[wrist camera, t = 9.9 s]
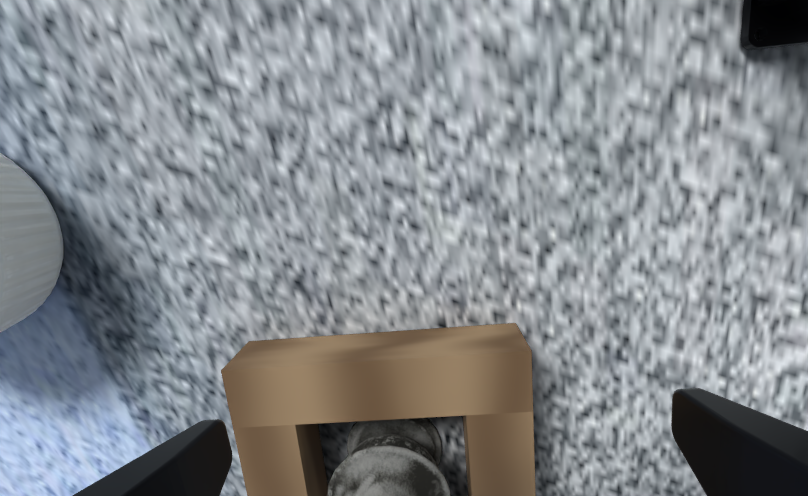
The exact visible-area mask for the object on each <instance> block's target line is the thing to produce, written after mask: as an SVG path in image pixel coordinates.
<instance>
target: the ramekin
mask: <svg viewBox="0 0 808 496" xmlns="http://www.w3.org/2000/svg"><path fill="white" fill-rule="evenodd" d="M63 250H64V249H63V237H62V232H61V228H60V224H59V221H58V218H57V216H56V213H55V211H54V209H53V207H52V205H51V203H50V202H49V200H48V198H47V196H46V195H45V194H44V192H43V191H42V189H41V188H40V187H39V186H38V185H37V183H36V182H35V181H34V180H33V179H32V178H31V177H30V176H29V175H28V174H27V173H26V172H25V171H24V170H23V169H21V168H20V167H19V166H17V165H16V164H15V163H14V162H13V161H12V160H11V159H9V158H7V157H5V156H4V155H3V154H2V153H0V333H1V332H3V331H5V330H6V329H8V328H10V327H11V326H13V325H15V324H16V323H18V322H20V321H22V320H23V319H25V318H26V317H27V316H29V315H31V314H32V313H34V312H35V311H36V310H37V309H38V307H40V306H41V305H42V304H43V303H44V302H45V300H46V299H47V297H48V296H49V295H50V294H51V292H52V290H53V288H54V287H55V285H56V282H57V279H58V277H59V274H60V270H61V267H62V261H63Z"/></svg>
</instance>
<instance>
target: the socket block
mask: <svg viewBox="0 0 808 496" xmlns="http://www.w3.org/2000/svg"><path fill="white" fill-rule="evenodd" d="M221 373H222V378H223V382H224V387H225V392H226V397H227V401H228V406H229V411H230V415H231V420H232V425H233V430H234V434H235V439H236V444H237V448H238V453H239V458H240V462H241V467H242V472H243V477H244V481H245V486H246V491H247V495H248V496H327V493H328V484H327V477H326V471H325V465H324V459H323V452H322V446H321V440H320V434H319V427H318V423H336V422H354V421H372V420H391V419H409V418H427V417H446V416H463V426H464V440H465V455H466V469H467V483H468V496H535V461H534V425H533V389H532V352H531V349H530V347H529V346H528V344H527V342H526V340H525V339H524V337H523V335H522V333H521V332H520V330H519V328H518V326H517V325H516V323H508V324H494V325H479V326H465V327H450V328H436V329H421V330H407V331H392V332H378V333H363V334H349V335H334V336H320V337H305V338H291V339H276V340H262V341H249V342H248V343H247V344H246V345H245V346H244V347H243V348H242V349H241V350H240V351H239V352H238V353H237V354H236V356H235V357H234V358H233V359H232V360H231V361H230V362H229V363H228V364H227V365H226V366H225V367H224V368H223V369H222V370H221Z"/></svg>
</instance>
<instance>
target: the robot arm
mask: <svg viewBox="0 0 808 496" xmlns="http://www.w3.org/2000/svg"><path fill="white" fill-rule="evenodd" d="M756 31H758V32H759V35H760V37H759V40H756V39H755V32H756ZM741 43H742V45H743V47H744V48H746V49H749V50H755V49H764V48H773V47H783V46H792V45H801V44H808V0H744V4H743V17H742V29H741ZM671 426H672V433H673V436H674V439H675V441H676V443H677V445H678V446H679V448H680V450H681V452H682V453H683V455H684V457H685V458H686V460H687V462H688V464H689V465H690V467H691V469H692V471H693V472H694V474H695V476H696V477H697V479H698V481H699V483H700V484H701V486H702V488H703V490H704V491H705V493H706V495H707V496H808V431H806V430H804V429H801V428H798V427H796V426H793V425H791V424H788V423H786V422H783V421H781V420H778V419H776V418H773V417H771V416H768V415H766V414H763V413H761V412H758V411H756V410H753V409H751V408H748V407H746V406H743V405H741V404H738V403H736V402H733V401H731V400H728V399H725V398H723V397H720V396H718V395H715V394H713V393H710V392H708V391H705V390H703V389H700V388H690V389H678V390H676V391H675V392H674V394H673V398H672V425H671ZM231 463H232V450H231V446H230V442H229V438H228V434H227V430H226V426H225V424H224V422H223V421H222V420H219V419H217V420H203V421H200V422H198V423H197V424H195V425H193V426H192V427H190V428H188V429H186V430H185V431H183V432H181V433H180V434H178V435H176V436H174V437H173V438H171V439H169V440H167V441H166V442H164V443H162V444H161V445H159V446H157V447H155V448H154V449H152V450H150V451H149V452H147V453H145V454H143V455H142V456H140V457H138V458H136V459H135V460H133V461H131V462H130V463H128V464H126V465H124V466H123V467H121V468H119V469H118V470H116V471H114V472H112V473H111V474H109V475H107V476H105V477H104V478H102V479H100V480H99V481H97V482H95V483H93V484H92V485H90V486H88V487H87V488H85V489H83V490H81V491H80V492H78V493H76V494H74V495H73V496H219V495H220V493H221V490H222V487H223V485H224V482H225V480H226V477H227V474H228V472H229V469H230V466H231Z"/></svg>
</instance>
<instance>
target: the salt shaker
mask: <svg viewBox="0 0 808 496" xmlns="http://www.w3.org/2000/svg"><path fill="white" fill-rule="evenodd" d="M347 451H348V457H347V458H346V459H345V460H344V461H343V462H342V463H341V464H340V465H339V466H338V467H337V468H336V470H335V471H334V473H333V475H332V478H331V480H330V482H329V485H328V493H327V496H451V495H450V488H449V486H448V484H447V481H446V479H445V477H444V475H443V474H442V473H441V471H440V470H439V467H438V465H439V463H440V458H441V453H442V448H441V439H440V437H439V434H438V432H437V430H436V428H435V427H434V426H433V424H432V423H431V422H430V421H429V420H428V419H427V418H409V419H391V420H372V421H356V422H355V424H354V425H353V427H352V429H351V431H350V433H349V435H348V442H347Z"/></svg>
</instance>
